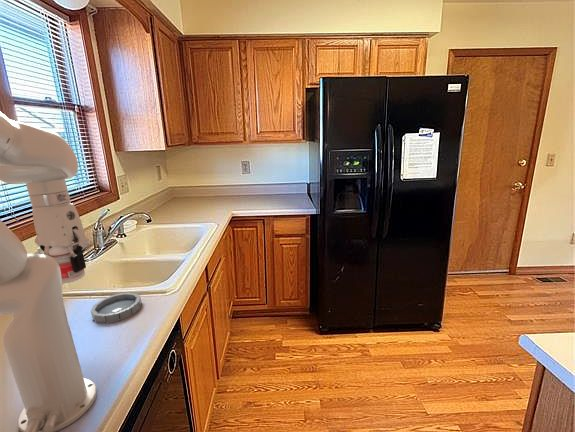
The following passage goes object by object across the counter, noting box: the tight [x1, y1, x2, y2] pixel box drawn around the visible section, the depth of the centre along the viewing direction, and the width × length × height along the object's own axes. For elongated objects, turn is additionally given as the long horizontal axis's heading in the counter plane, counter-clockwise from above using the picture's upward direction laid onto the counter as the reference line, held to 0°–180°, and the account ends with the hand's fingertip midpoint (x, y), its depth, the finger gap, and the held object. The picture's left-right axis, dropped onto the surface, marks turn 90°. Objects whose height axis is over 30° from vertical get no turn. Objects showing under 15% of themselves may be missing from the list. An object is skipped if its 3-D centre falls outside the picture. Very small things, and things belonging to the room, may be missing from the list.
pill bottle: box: [49, 241, 86, 284], centre depth 80 cm, size 6×6×11 cm
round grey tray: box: [90, 292, 142, 324], centre depth 97 cm, size 13×13×2 cm
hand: (68, 269), depth 81 cm, fingers closed on pill bottle, 6 cm apart
